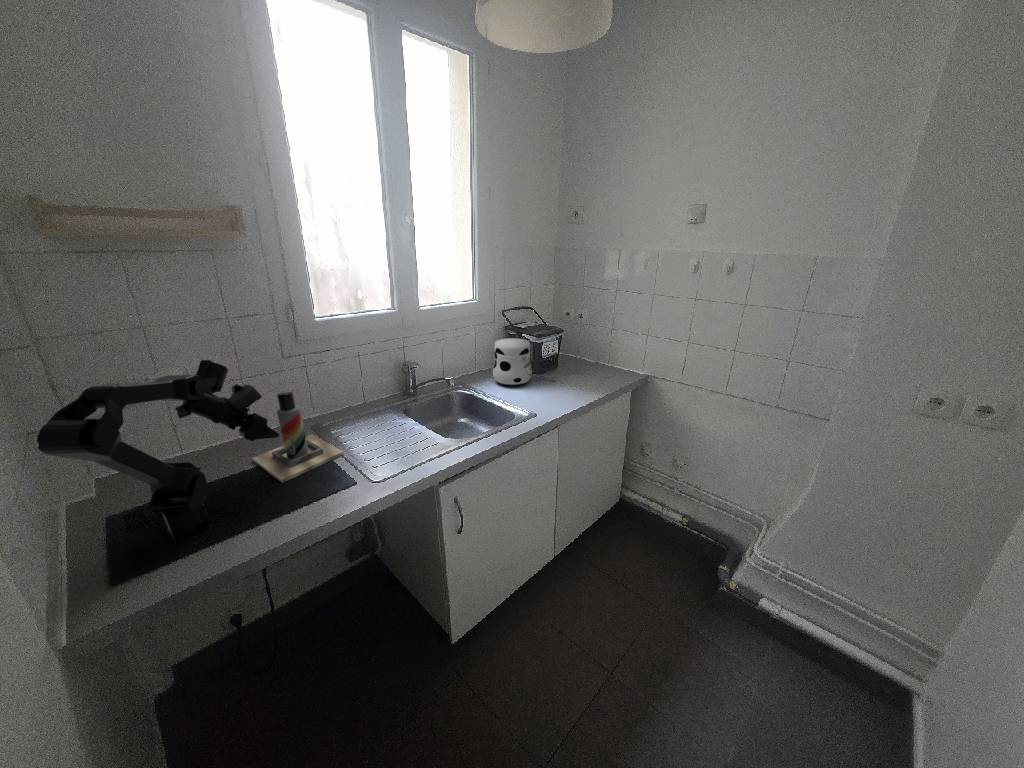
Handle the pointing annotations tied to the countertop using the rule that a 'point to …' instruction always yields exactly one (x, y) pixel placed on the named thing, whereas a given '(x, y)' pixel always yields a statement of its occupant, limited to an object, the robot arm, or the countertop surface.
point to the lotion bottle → (291, 426)
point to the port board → (297, 459)
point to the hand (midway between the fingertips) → (270, 431)
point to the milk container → (512, 362)
